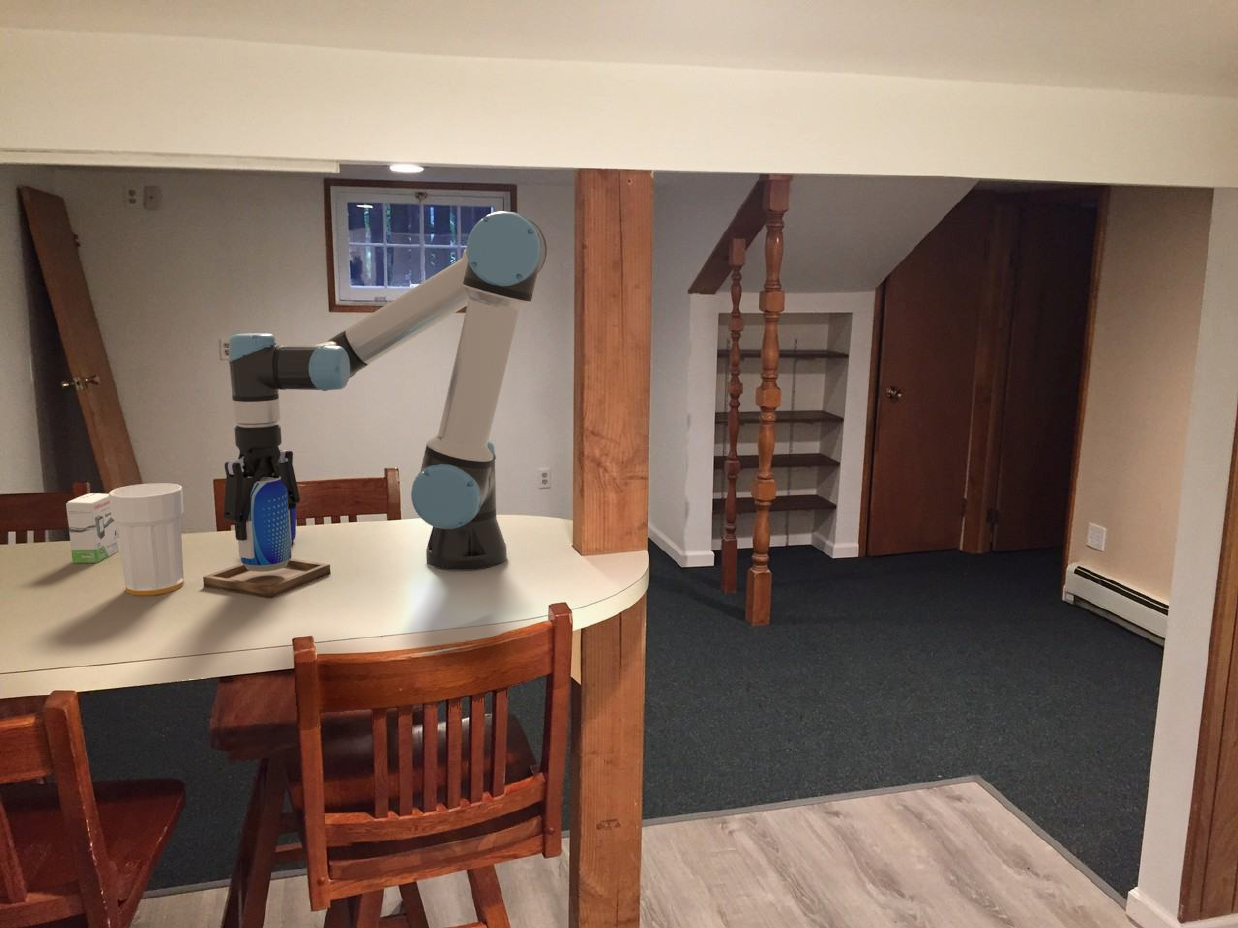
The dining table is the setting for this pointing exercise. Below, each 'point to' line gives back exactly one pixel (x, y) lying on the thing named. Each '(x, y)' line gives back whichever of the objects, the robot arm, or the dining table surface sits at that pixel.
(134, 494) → the cup
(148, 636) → the dining table surface
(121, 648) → the dining table surface
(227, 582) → the tray
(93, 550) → the ink box
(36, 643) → the dining table surface
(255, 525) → the beer can
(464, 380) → the robot arm
